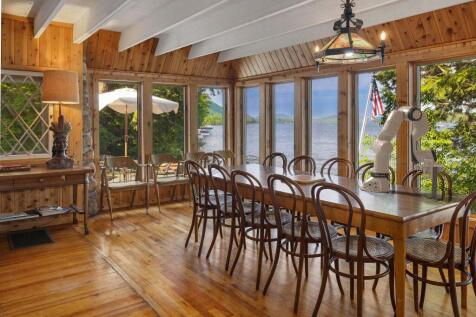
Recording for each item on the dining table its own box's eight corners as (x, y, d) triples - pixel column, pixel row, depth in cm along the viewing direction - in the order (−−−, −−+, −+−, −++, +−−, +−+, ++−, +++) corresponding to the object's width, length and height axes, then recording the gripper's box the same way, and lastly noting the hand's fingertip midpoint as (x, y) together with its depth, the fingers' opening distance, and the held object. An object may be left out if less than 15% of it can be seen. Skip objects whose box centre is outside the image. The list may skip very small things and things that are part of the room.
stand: (426, 198, 263) (427, 166, 260) (427, 195, 272) (429, 165, 270) (441, 199, 258) (442, 167, 256) (442, 196, 267) (443, 165, 265)
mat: (419, 195, 274) (419, 194, 274) (420, 193, 281) (420, 192, 281) (431, 196, 270) (431, 195, 270) (432, 194, 277) (432, 193, 277)
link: (422, 178, 283) (423, 159, 281) (423, 177, 287) (424, 159, 286) (431, 179, 280) (432, 160, 278) (432, 178, 284) (433, 159, 282)
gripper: (414, 162, 299) (412, 163, 288) (444, 163, 289) (443, 165, 277) (414, 170, 300) (412, 172, 288) (443, 171, 290) (443, 174, 278)
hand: (427, 168), depth 283 cm, fingers closed on link, 6 cm apart
